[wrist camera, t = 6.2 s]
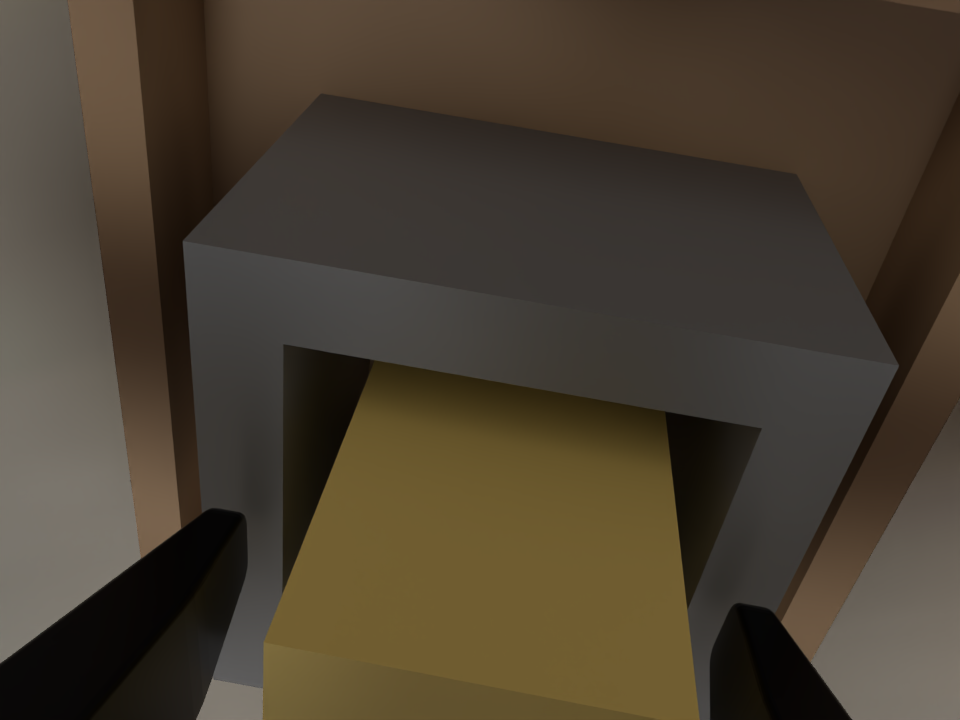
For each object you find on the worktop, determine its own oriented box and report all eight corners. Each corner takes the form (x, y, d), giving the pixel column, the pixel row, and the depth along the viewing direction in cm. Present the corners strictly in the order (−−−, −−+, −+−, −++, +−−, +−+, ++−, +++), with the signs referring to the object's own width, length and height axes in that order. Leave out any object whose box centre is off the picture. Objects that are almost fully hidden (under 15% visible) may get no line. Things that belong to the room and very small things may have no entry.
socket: (671, 520, 16) (696, 768, 12) (310, 455, 16) (213, 678, 12) (796, 173, 12) (900, 366, 8) (321, 92, 12) (182, 241, 8)
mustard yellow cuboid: (597, 435, 15) (599, 925, 9) (406, 398, 15) (261, 857, 9) (648, 263, 13) (700, 727, 7) (429, 223, 13) (264, 642, 7)
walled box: (742, 642, 18) (760, 750, 16) (200, 544, 19) (151, 637, 17) (1085, -69, 11) (1204, -35, 9) (144, -221, 11) (37, -227, 9)
